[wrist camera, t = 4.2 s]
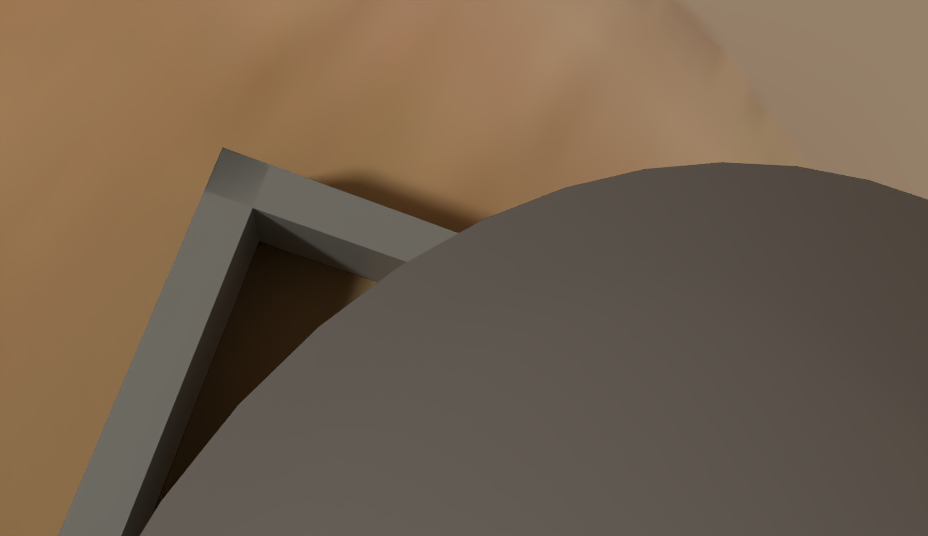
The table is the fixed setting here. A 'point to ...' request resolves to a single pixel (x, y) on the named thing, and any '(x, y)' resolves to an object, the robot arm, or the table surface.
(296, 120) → the table surface
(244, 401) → the canister
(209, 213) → the grey square tray
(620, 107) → the table surface
